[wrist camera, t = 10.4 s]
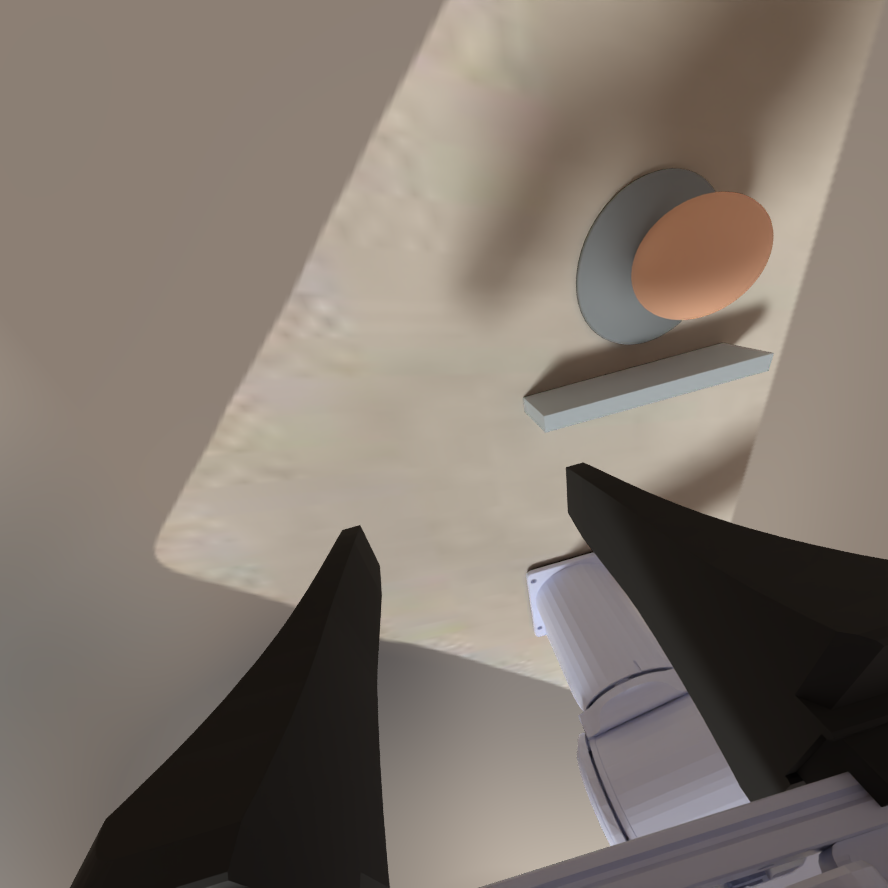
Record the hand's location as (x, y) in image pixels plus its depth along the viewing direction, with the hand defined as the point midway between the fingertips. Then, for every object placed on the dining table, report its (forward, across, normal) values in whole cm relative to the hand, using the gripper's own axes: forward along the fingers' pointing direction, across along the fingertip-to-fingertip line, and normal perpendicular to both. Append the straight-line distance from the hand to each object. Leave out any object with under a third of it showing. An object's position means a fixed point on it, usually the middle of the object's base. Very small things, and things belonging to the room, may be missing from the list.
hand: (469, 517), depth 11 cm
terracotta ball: (+9, -13, -5) cm, 17 cm away
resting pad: (+9, -13, -5) cm, 17 cm away
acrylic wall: (+9, -12, +1) cm, 15 cm away
